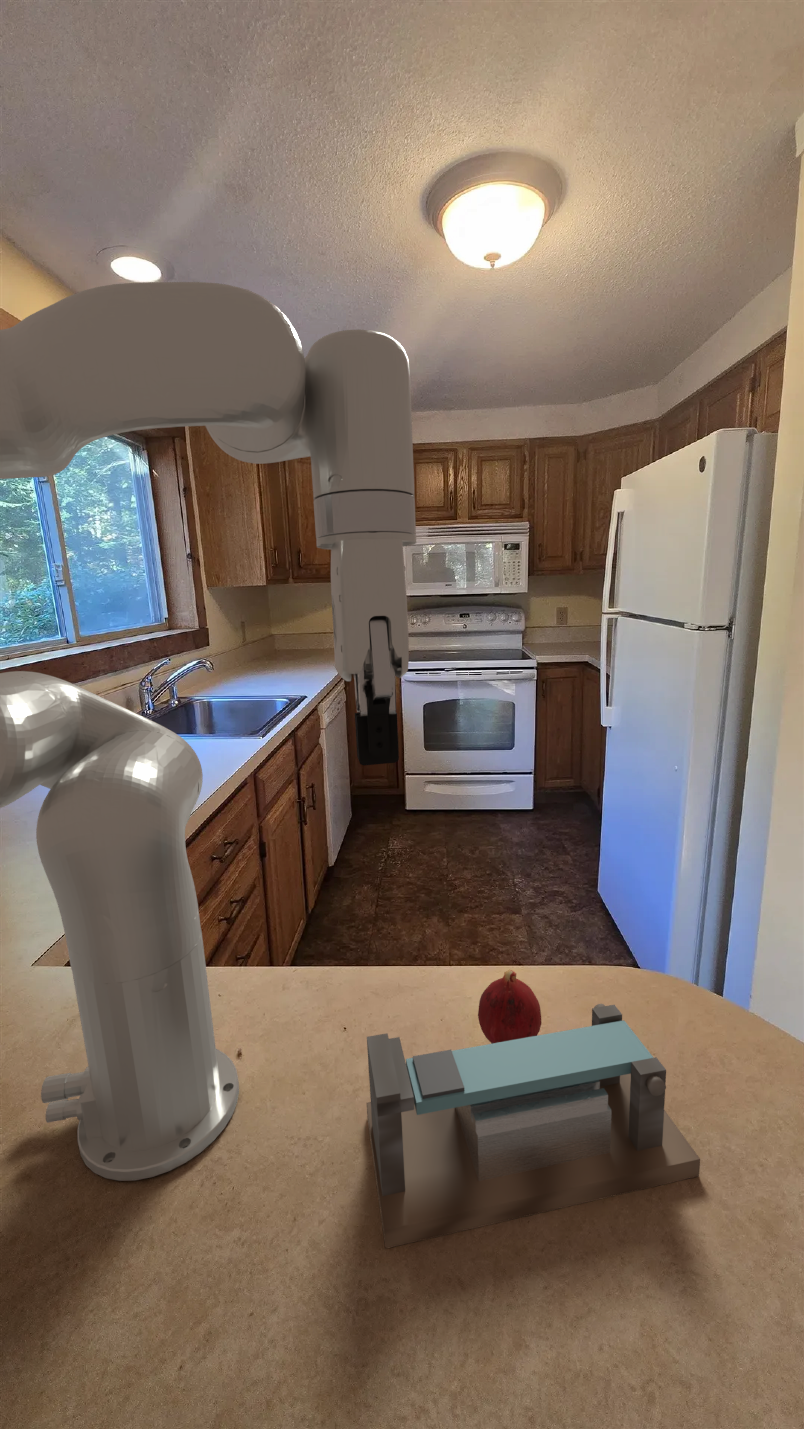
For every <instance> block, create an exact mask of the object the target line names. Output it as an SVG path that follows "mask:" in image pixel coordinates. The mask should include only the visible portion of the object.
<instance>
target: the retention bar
mask: <svg viewBox="0 0 804 1429" xmlns="http://www.w3.org/2000/svg"><path fill="white" fill-rule="evenodd" d="M649 1058H655V1056H653V1055H652V1054H651V1053H650V1051H649V1050H648V1048H647V1047H646V1045H644V1044H643V1043H642V1041H641V1040H640V1038H639V1037H638V1036H637V1034H636V1033H635V1032H634V1031H633V1030H632V1028H631V1027H630V1026H629V1024H628V1023H627V1022H626V1021H625V1020H623V1019H622V1021H617V1022H611V1023H606V1024H600V1025H594V1026H592V1025H589V1026H583V1027H578V1028H573V1029H567V1030H563V1031H562V1030H561V1031H556V1032H549V1033H544V1034H538V1035H537V1036H532V1037H527V1038H521V1039H515V1040H510V1041H504V1042H498V1043H493V1044H492V1043H488V1044H484V1045H483V1044H482V1045H477V1046H476V1045H475V1046H471V1047H470V1046H469V1047H466V1048H460V1049H454V1050H452V1049H447V1050H441V1051H436V1052H430V1053H429V1052H428V1053H423V1054H418V1055H412V1057H409V1058H405V1062H406V1067H407V1071H408V1075H409V1079H410V1083H411V1088H412V1092H413V1096H414V1104H415V1109H416V1113H417V1115H420V1114H425V1113H430V1112H435V1111H440V1110H446V1109H451V1108H456V1107H461V1106H466V1105H471V1104H476V1103H482V1102H487V1101H492V1100H497V1099H502V1098H507V1097H513V1096H518V1095H523V1094H528V1093H533V1092H538V1091H543V1090H549V1089H554V1088H559V1087H564V1086H569V1085H574V1084H579V1083H585V1082H590V1081H595V1080H600V1079H605V1078H610V1077H616V1076H621V1075H626V1074H631V1062H634V1061H639V1060H644V1059H649Z"/></svg>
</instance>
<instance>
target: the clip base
mask: <svg viewBox="0 0 804 1429" xmlns="http://www.w3.org/2000/svg"><path fill="white" fill-rule="evenodd" d="M617 1021H623V1013H622V1012H621V1011H620V1010H619V1009H618V1007H617V1005H616V1004H610V1005H606V1004H604V1003H597V1004H596V1005H594V1007H593V1008H591V1026H594V1025H600V1024H606V1023H611V1022H617ZM400 1038H401V1037H400V1036H398V1037H396V1036H395V1037H391V1038H389V1033H388V1032H386V1033H382V1034H375V1035H369V1036H368V1035H367V1036H366V1047H367V1062H368V1064H367V1065H368V1081H369V1091H370V1092H369V1093H370V1094H369V1096H370V1101H369V1102H366V1114H367V1116H366V1118H367V1125H368V1126H367V1127H368V1132H369V1139H370V1148H371V1153H372V1160H373V1169H374V1175H375V1176H374V1177H375V1183H376V1190H377V1196H378V1205H379V1211H380V1219H381V1226H382V1234H383V1240H384V1246H385V1249H388V1248H389V1249H390V1248H394V1247H397V1246H403V1245H407V1244H410V1243H414V1242H421V1241H424V1240H429V1239H432V1238H436V1237H437V1238H438V1237H441V1236H446V1235H448V1234H449V1235H450V1234H455V1233H458V1232H462V1231H467V1230H471V1229H475V1228H476V1229H477V1228H480V1227H485V1226H488V1225H489V1226H490V1225H493V1224H497V1223H502V1222H506V1221H511V1220H515V1219H519V1218H523V1217H528V1216H533V1215H536V1214H541V1213H545V1212H550V1211H553V1210H558V1209H563V1208H566V1207H571V1206H576V1205H579V1204H584V1203H587V1202H589V1203H590V1202H593V1201H596V1200H597V1201H598V1200H602V1199H606V1198H610V1197H613V1196H614V1197H615V1196H619V1195H623V1194H628V1193H632V1192H635V1191H641V1190H644V1189H649V1188H654V1187H657V1186H662V1185H667V1184H670V1183H674V1182H679V1181H683V1180H688V1179H693V1178H696V1177H700V1166H701V1158H700V1157H699V1155H698V1154H697V1153H696V1151H695V1150H694V1148H693V1147H692V1146H691V1144H690V1143H689V1142H688V1140H687V1139H686V1138H685V1136H684V1134H683V1133H682V1132H681V1130H680V1129H679V1127H678V1126H677V1125H676V1123H675V1122H674V1121H673V1120H672V1118H671V1116H670V1115H669V1114H668V1113H667V1111H666V1110H665V1100H666V1089H667V1086H666V1083H667V1082H666V1081H667V1080H666V1079H667V1069H666V1067H665V1066H664V1065H663V1064H662V1062H661V1061H660V1060H659V1059H658V1058H657V1056H654V1058H649V1059H644V1060H639V1061H634V1062H631V1074H626V1075H621V1076H616V1077H610V1078H605V1079H600V1080H599V1081H600V1089H602V1088H604V1089H605V1091H606V1092H607V1094H608V1105H609V1107H610V1108H611V1140H610V1153H606V1154H602V1155H597V1156H593V1157H588V1158H583V1159H579V1160H574V1161H570V1162H565V1163H560V1164H556V1165H551V1166H547V1167H542V1168H537V1169H533V1170H528V1171H524V1172H519V1173H514V1174H510V1175H505V1176H501V1177H496V1178H491V1179H487V1180H482V1181H479V1180H478V1177H477V1174H476V1171H475V1167H474V1164H473V1161H472V1158H471V1155H470V1152H469V1148H468V1145H467V1142H466V1139H465V1136H464V1133H463V1130H462V1126H461V1123H460V1120H459V1117H458V1114H457V1111H456V1108H451V1109H446V1110H440V1111H435V1112H430V1113H425V1114H420V1115H417V1113H416V1109H415V1104H414V1096H413V1092H412V1088H411V1083H410V1079H409V1075H408V1071H407V1067H406V1058H405V1055H404V1050H403V1045H402V1042H401V1039H400Z"/></svg>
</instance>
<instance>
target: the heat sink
mask: <svg viewBox="0 0 804 1429" xmlns="http://www.w3.org/2000/svg"><path fill="white" fill-rule="evenodd" d="M456 1111H457V1114H458V1117H459V1120H460V1123H461V1126H462V1130H463V1133H464V1136H465V1139H466V1142H467V1145H468V1148H469V1152H470V1155H471V1158H472V1161H473V1164H474V1167H475V1171H476V1174H477V1177H478V1180H479V1181H482V1180H487V1179H491V1178H496V1177H501V1176H505V1175H510V1174H514V1173H519V1172H524V1171H528V1170H533V1169H537V1168H542V1167H547V1166H551V1165H556V1164H560V1163H565V1162H570V1161H574V1160H579V1159H583V1158H588V1157H593V1156H597V1155H602V1154H606V1153H610V1140H611V1108H610V1107H609V1105H608V1094H607V1092H606V1091H605V1089H604V1088H602V1089H600V1081H599V1080H595V1081H590V1082H585V1083H579V1084H574V1085H569V1086H564V1087H559V1088H554V1089H549V1090H543V1091H538V1092H533V1093H528V1094H523V1095H518V1096H513V1097H507V1098H502V1099H497V1100H492V1101H487V1102H482V1103H476V1104H471V1105H466V1106H461V1107H456Z"/></svg>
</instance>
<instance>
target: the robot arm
mask: <svg viewBox="0 0 804 1429" xmlns="http://www.w3.org/2000/svg"><path fill="white" fill-rule="evenodd" d="M303 349H304V348H303V346H302V343H301V340H300V338H299V336H298V333H297V331H296V329H295V328H294V326H293V325H292V322H291V321H290V319H289V318H288V317H287V315H285V314H284V313H283V312H282V311H281V309H280V308H279V307H278V306H277V305H275V304H274V303H272V302H271V301H269V300H268V299H267V298H265V297H264V296H262V295H260V294H258V293H255V292H253V291H251V290H249V289H246V288H242V287H239V286H235V285H232V284H227V283H225V284H224V283H217V282H203V281H161V282H159V281H158V282H152V281H151V282H127V283H126V282H125V283H124V282H123V283H115V284H107V285H102V286H96V287H92V288H88V289H84V290H81V291H79V292H77V293H74V294H71V295H68V296H66V297H65V298H62V299H60V300H58V301H57V302H54V303H53V304H50V305H48V306H46V307H44V308H41V309H39V310H38V311H36V312H34V313H31V314H30V315H28V316H26V317H25V318H23V319H22V320H21V321H19V322H18V323H16V324H15V325H13V326H11V327H8V328H4V329H0V480H7V479H11V480H12V479H24V478H41V477H42V478H43V477H44V478H45V477H50V476H55V475H56V474H59V473H60V472H61V473H62V471H64V470H65V469H66V468H67V467H68V466H69V465H70V463H71V462H72V460H73V459H74V457H75V456H76V454H77V453H78V452H79V451H81V449H82V448H84V447H85V446H86V445H88V444H91V443H93V442H95V441H97V440H100V439H102V438H106V437H108V436H109V437H110V436H113V435H118V434H122V433H126V432H127V433H129V432H133V431H134V432H135V431H141V430H142V431H143V430H153V429H166V428H177V427H182V428H183V427H203V426H204V427H205V428H206V431H207V432H208V434H209V436H210V437H211V439H212V440H213V441H214V442H215V444H216V445H217V446H218V447H219V448H220V450H222V452H224V453H225V454H227V455H229V456H230V457H232V458H234V459H236V460H237V461H241V462H243V463H249V464H250V463H251V464H255V465H257V464H261V465H262V464H272V463H273V464H274V463H280V462H284V461H291V460H297V459H301V458H309V457H310V464H311V465H310V467H311V481H312V495H313V513H314V529H315V539H316V548H318V549H322V550H330V592H331V594H330V595H331V612H332V629H333V630H332V631H333V632H332V633H333V649H334V650H333V653H334V668H335V670H336V672H337V674H338V675H339V676H340V678H342V679H343V680H344V681H346V682H351V681H352V675H353V679H354V694H355V706H356V712H354V721H355V722H354V724H355V739H356V740H355V742H356V756H357V760H358V762H359V764H360V765H361V766H373V765H385V764H396V763H398V762H399V759H400V756H399V755H400V752H399V749H400V748H399V733H398V732H399V729H398V713H397V712H396V710H397V709H396V678H399V679H401V678H402V677H404V676H405V675H406V673H407V672H408V671H409V659H410V658H409V657H410V655H409V654H410V652H409V651H410V650H409V647H410V644H409V642H410V641H409V616H408V615H409V613H408V599H407V597H408V596H407V584H406V566H405V558H404V555H405V554H404V547H408V546H413V545H415V544H417V527H416V524H417V523H416V502H415V500H416V499H415V471H414V450H413V449H414V446H413V444H414V443H413V442H414V441H413V424H412V423H413V416H412V393H411V392H412V389H411V384H412V383H411V371H410V362H409V357H408V355H407V353H406V350H405V348H404V347H403V346H402V345H401V343H400V342H399V341H397V340H396V339H395V338H393V337H392V336H390V335H389V334H386V333H384V332H379V331H375V330H371V329H346V330H341V331H340V330H339V331H335V332H332V333H328V334H326V335H324V336H322V337H321V338H319V339H318V340H316V342H314V343H313V344H312V345H311V346H310V348H309V350H308V353H307V354H306V356H305V355H304V353H305V352H304V350H303ZM203 776H204V775H203V769H202V765H201V761H200V758H199V756H198V755H197V752H196V751H195V750H194V749H193V747H192V746H191V745H190V744H189V742H187V740H185V739H184V738H183V737H182V736H180V735H179V734H177V733H176V732H174V731H172V730H170V729H168V728H167V727H166V726H163V725H162V724H159V723H157V722H155V721H153V720H151V719H149V718H147V717H145V716H142V715H140V714H138V713H136V712H134V711H132V710H130V709H127V708H126V707H123V706H121V705H120V704H117V703H115V702H113V701H110V700H108V699H107V698H104V697H102V696H100V695H98V694H97V693H94V692H92V691H89V690H88V689H85V688H83V687H81V686H78V685H77V684H74V683H71V682H70V681H67V680H65V679H62V678H60V677H56V676H53V675H50V674H45V673H41V672H36V671H26V670H21V671H20V670H15V671H6V672H1V673H0V809H2V808H5V807H8V805H11V804H12V803H14V802H16V801H17V800H18V799H20V798H22V797H24V796H25V795H27V794H28V793H30V792H31V791H33V790H35V789H36V788H37V787H39V786H42V787H45V788H47V789H49V791H48V793H47V794H46V797H45V798H44V800H43V801H42V805H41V807H40V809H39V812H38V817H37V822H36V832H35V833H36V835H35V836H36V837H35V839H36V846H37V851H38V855H39V858H40V863H41V864H42V867H43V870H44V872H45V875H46V877H47V880H48V882H49V885H50V887H51V890H52V893H53V895H54V899H55V901H56V904H57V908H58V912H59V914H60V915H59V916H60V917H61V922H62V926H63V932H64V936H65V941H66V947H67V953H68V958H69V959H68V960H69V963H70V969H71V973H72V978H73V984H74V989H75V995H76V996H75V997H76V1001H77V1007H78V1013H79V1019H80V1026H81V1030H82V1036H83V1042H84V1048H85V1053H86V1059H87V1065H88V1066H86V1068H85V1069H84V1071H82V1072H75V1073H72V1072H67V1073H61V1074H55V1075H54V1074H53V1075H50V1076H47V1077H45V1078H44V1080H43V1082H42V1085H41V1092H40V1099H41V1102H42V1103H43V1104H48V1105H47V1106H46V1108H45V1109H46V1110H45V1121H46V1123H54V1122H58V1121H59V1122H60V1121H65V1120H66V1119H71V1118H77V1120H78V1121H79V1122H78V1125H77V1144H78V1150H79V1155H80V1157H81V1159H82V1162H84V1164H85V1166H86V1167H87V1168H89V1169H90V1170H91V1172H92V1173H94V1174H96V1175H99V1176H101V1177H103V1178H105V1179H108V1180H113V1181H119V1182H122V1181H124V1182H125V1181H139V1180H143V1179H144V1180H145V1179H148V1178H153V1177H156V1176H159V1175H162V1174H164V1173H167V1172H170V1171H172V1170H175V1169H176V1168H178V1167H180V1166H182V1165H184V1164H185V1163H187V1162H188V1161H190V1160H193V1158H195V1157H196V1156H197V1155H199V1154H201V1153H202V1152H203V1151H204V1150H205V1149H206V1148H207V1147H209V1145H211V1144H212V1143H213V1142H214V1141H215V1140H216V1138H217V1137H218V1136H220V1134H221V1133H222V1131H223V1130H224V1129H225V1128H226V1126H227V1124H228V1123H229V1121H230V1120H231V1118H232V1116H233V1114H234V1112H235V1109H236V1107H237V1105H238V1100H239V1094H240V1086H239V1085H240V1084H239V1076H238V1070H237V1068H236V1065H235V1063H234V1062H233V1060H232V1059H231V1058H230V1057H229V1056H228V1055H227V1054H226V1053H224V1052H223V1051H221V1050H220V1049H218V1048H217V1047H216V1039H215V1038H216V1037H215V1032H214V1024H213V1023H214V1022H213V1015H212V1007H211V998H210V991H209V982H208V981H209V980H208V972H207V965H206V957H205V948H204V941H203V939H204V938H203V931H202V928H201V918H200V913H199V912H200V910H199V904H198V898H197V892H196V886H195V882H194V878H193V875H192V874H193V873H192V870H191V866H190V864H189V859H188V854H187V848H186V827H187V824H188V822H189V820H190V817H191V815H192V812H193V810H194V808H195V806H196V805H197V804H196V803H197V801H198V799H199V798H200V794H201V792H202V791H201V790H202V788H203ZM74 1097H79V1098H74ZM69 1098H74V1099H69Z"/></svg>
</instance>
